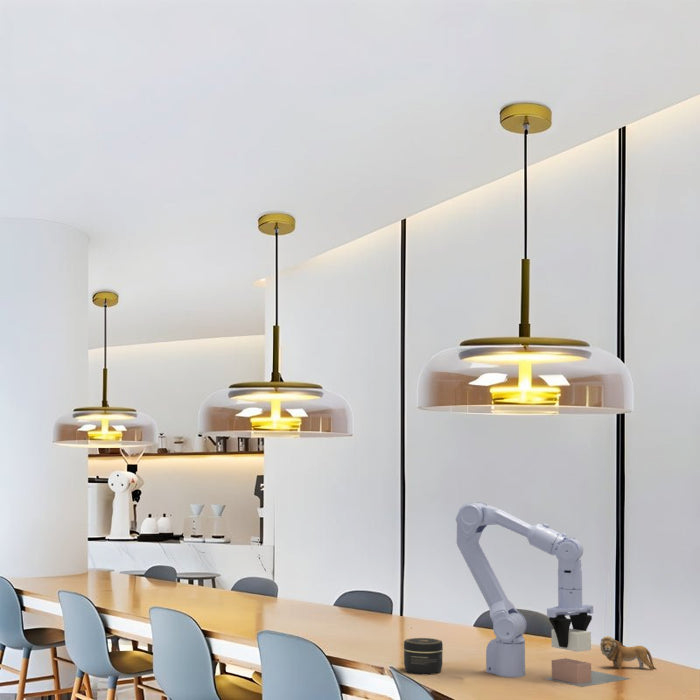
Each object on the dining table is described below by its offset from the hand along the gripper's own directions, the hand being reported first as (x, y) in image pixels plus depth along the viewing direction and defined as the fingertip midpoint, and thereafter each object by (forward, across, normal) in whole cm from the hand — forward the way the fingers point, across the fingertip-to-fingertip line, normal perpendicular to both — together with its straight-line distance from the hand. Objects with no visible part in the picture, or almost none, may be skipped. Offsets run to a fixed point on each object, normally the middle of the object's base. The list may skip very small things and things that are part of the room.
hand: (570, 646), depth 241 cm
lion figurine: (+9, +24, +2) cm, 25 cm away
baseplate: (+9, +4, -1) cm, 10 cm away
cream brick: (0, 0, 0) cm, 1 cm away
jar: (+9, -20, +32) cm, 39 cm away
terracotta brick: (+8, 0, 0) cm, 8 cm away
